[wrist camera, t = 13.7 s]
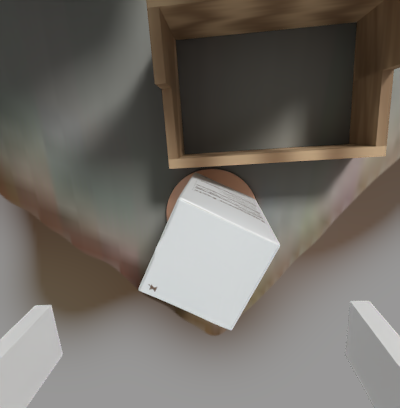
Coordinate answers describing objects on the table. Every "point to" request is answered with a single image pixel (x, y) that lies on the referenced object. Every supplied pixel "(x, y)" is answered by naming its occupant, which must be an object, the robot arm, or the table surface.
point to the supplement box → (211, 252)
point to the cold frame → (279, 20)
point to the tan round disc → (214, 174)
